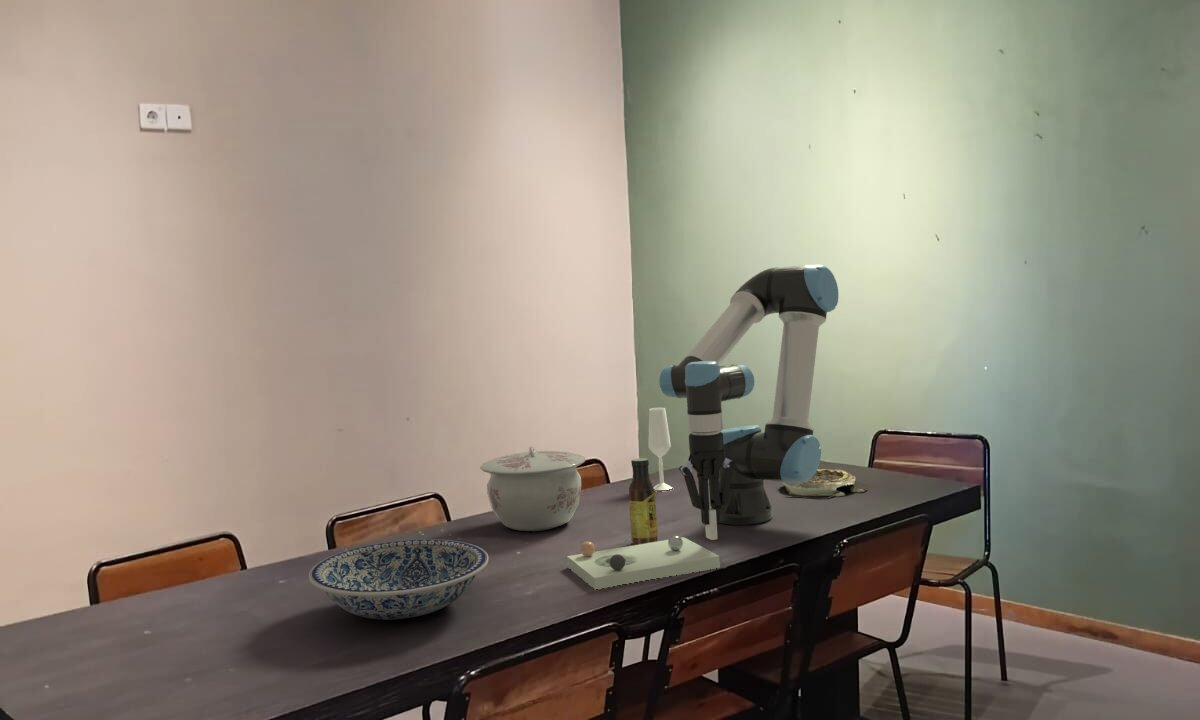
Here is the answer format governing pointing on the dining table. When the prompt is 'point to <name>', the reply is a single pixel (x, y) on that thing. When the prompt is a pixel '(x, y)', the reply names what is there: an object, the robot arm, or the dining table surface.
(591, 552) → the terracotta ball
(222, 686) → the dining table surface
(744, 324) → the robot arm
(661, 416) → the champagne flute
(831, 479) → the pie
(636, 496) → the sauce bottle
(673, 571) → the board
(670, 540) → the steel ball
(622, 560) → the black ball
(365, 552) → the ceramic bowl
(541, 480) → the chamber pot
